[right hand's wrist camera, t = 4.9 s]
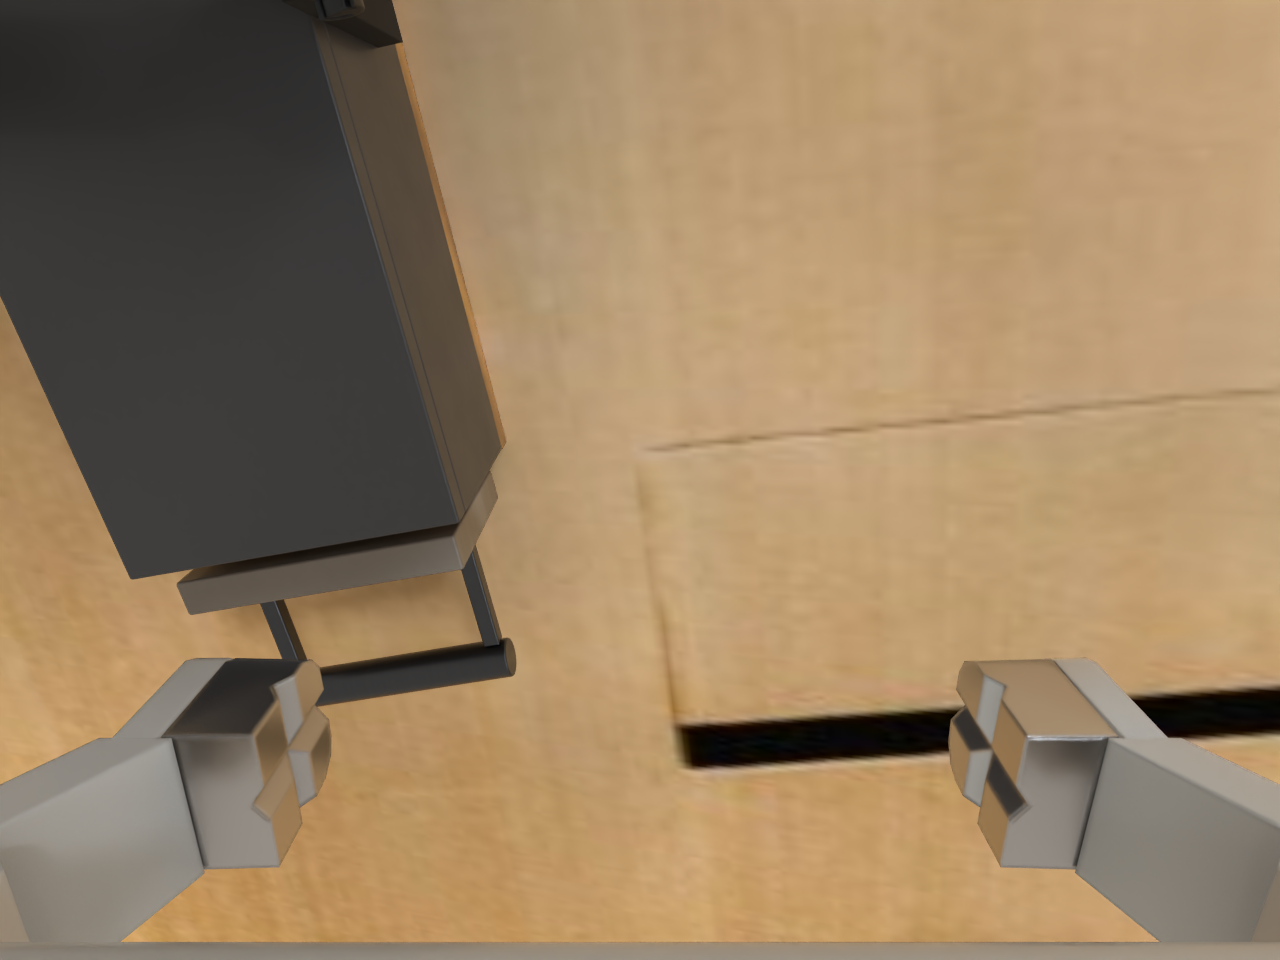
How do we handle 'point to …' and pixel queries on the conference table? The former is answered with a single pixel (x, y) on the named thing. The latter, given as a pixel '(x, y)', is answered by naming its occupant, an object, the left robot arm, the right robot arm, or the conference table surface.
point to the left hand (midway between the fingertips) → (196, 34)
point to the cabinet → (236, 278)
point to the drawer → (363, 567)
